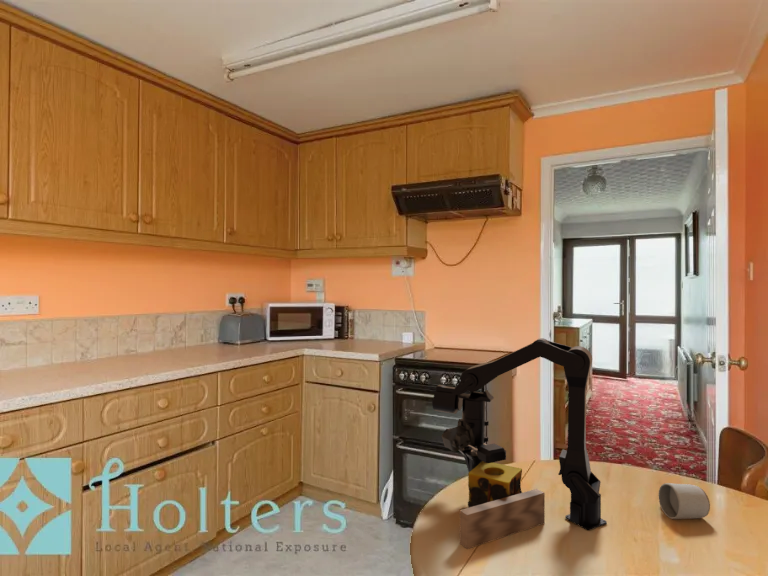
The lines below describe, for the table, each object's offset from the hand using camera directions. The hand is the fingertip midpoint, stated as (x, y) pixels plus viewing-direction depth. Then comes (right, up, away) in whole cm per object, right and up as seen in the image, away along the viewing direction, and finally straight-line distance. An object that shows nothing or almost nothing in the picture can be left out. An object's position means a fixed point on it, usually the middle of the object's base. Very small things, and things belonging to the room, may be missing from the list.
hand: (472, 477), depth 121 cm
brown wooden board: (+4, -5, -17) cm, 18 cm away
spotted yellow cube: (+4, -5, -8) cm, 10 cm away
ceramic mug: (+47, -6, -9) cm, 48 cm away
